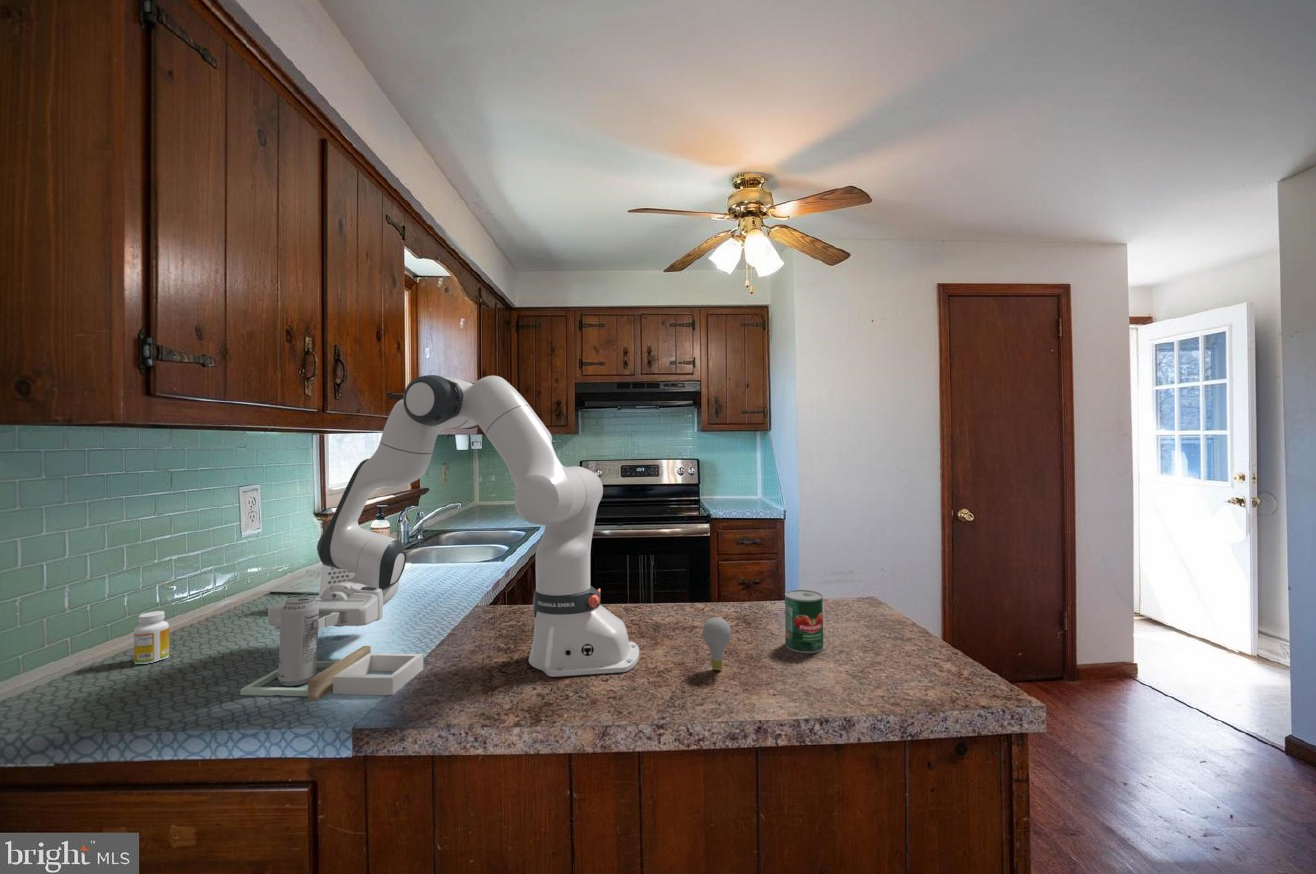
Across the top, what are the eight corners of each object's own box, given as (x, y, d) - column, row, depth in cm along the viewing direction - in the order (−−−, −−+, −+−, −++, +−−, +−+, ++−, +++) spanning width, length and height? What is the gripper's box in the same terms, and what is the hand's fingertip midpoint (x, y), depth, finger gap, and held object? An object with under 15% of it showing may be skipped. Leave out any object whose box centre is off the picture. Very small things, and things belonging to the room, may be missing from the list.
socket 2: (423, 669, 108) (423, 654, 108) (392, 695, 97) (392, 678, 97) (369, 668, 109) (369, 653, 109) (332, 694, 98) (332, 677, 98)
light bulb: (736, 668, 107) (735, 616, 107) (724, 678, 102) (723, 624, 102) (710, 662, 110) (709, 612, 110) (698, 672, 105) (697, 619, 105)
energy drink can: (290, 675, 106) (294, 596, 107) (322, 674, 106) (325, 595, 107) (270, 687, 100) (273, 603, 101) (304, 686, 100) (307, 602, 101)
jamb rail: (370, 663, 112) (370, 646, 112) (316, 700, 96) (316, 680, 96) (363, 663, 112) (363, 646, 112) (308, 700, 96) (308, 680, 96)
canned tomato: (808, 656, 112) (807, 602, 112) (777, 645, 118) (776, 594, 118) (831, 647, 117) (830, 595, 117) (800, 637, 123) (799, 587, 123)
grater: (362, 606, 152) (361, 533, 152) (317, 612, 146) (316, 537, 147) (360, 597, 161) (360, 528, 161) (318, 602, 156) (317, 531, 156)
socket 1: (355, 666, 110) (355, 661, 110) (310, 696, 97) (310, 690, 97) (293, 665, 111) (293, 660, 111) (240, 695, 98) (240, 689, 98)
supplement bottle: (163, 653, 118) (163, 608, 118) (173, 658, 116) (173, 612, 116) (129, 662, 114) (129, 615, 114) (139, 667, 111) (139, 619, 111)
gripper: (296, 588, 118) (244, 607, 104) (389, 588, 116) (348, 608, 103) (296, 618, 118) (244, 641, 104) (389, 618, 116) (348, 642, 103)
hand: (296, 624), depth 103 cm, fingers closed on energy drink can, 6 cm apart
